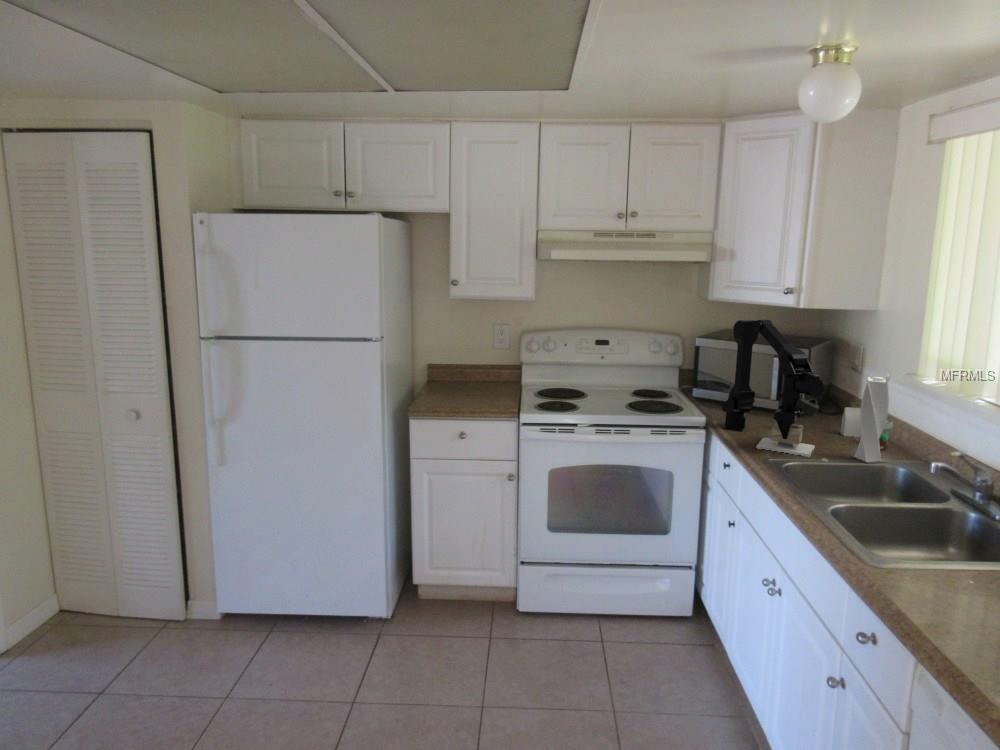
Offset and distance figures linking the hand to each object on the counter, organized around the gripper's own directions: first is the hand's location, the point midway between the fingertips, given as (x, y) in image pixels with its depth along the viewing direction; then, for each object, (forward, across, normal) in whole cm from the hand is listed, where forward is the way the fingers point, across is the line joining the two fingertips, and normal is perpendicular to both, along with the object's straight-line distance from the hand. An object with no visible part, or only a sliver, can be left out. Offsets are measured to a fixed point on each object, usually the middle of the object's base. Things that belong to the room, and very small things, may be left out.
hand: (786, 436), depth 217 cm
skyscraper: (+4, +2, -24) cm, 24 cm away
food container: (+4, +20, -26) cm, 33 cm away
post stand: (+4, 0, 0) cm, 4 cm away
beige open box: (+1, 0, 0) cm, 1 cm away
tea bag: (+4, +32, -17) cm, 36 cm away
